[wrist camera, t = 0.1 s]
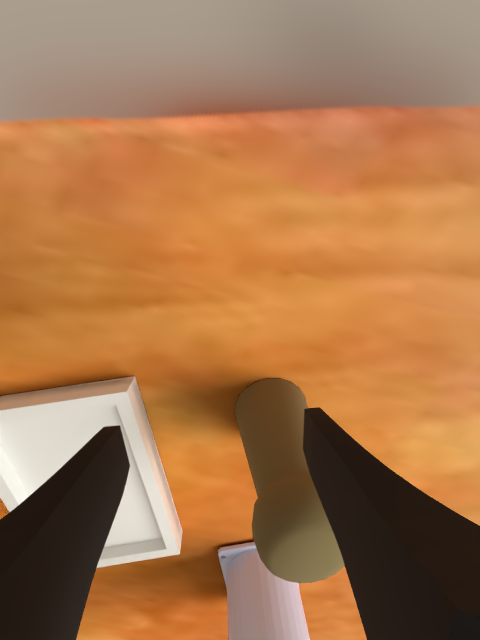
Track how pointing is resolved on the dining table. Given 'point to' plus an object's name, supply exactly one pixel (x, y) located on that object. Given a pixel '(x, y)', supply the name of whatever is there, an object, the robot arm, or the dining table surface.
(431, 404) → the dining table surface
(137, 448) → the white tray
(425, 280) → the dining table surface
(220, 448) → the dining table surface
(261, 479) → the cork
